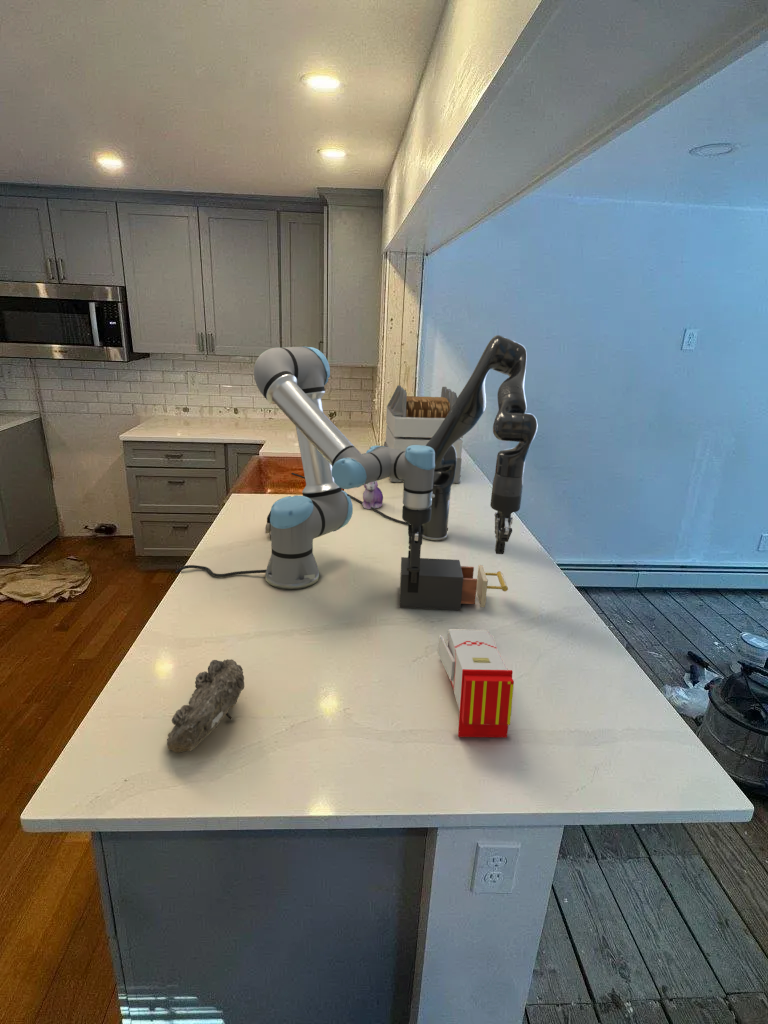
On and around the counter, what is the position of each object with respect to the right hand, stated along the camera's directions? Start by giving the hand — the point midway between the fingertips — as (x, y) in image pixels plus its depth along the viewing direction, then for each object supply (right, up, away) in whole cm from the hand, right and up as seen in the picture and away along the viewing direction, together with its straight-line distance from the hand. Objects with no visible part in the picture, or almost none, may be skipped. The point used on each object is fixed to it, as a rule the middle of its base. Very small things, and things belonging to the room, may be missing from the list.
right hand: (499, 553), depth 150 cm
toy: (-13, -27, -32) cm, 43 cm away
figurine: (-35, +13, +76) cm, 85 cm away
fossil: (-63, -28, -42) cm, 81 cm away
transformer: (-13, +30, +125) cm, 129 cm away
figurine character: (-67, +4, +46) cm, 82 cm away
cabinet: (-18, -13, +5) cm, 23 cm away
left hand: (-23, -8, +4) cm, 25 cm away
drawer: (-8, -13, +5) cm, 16 cm away
